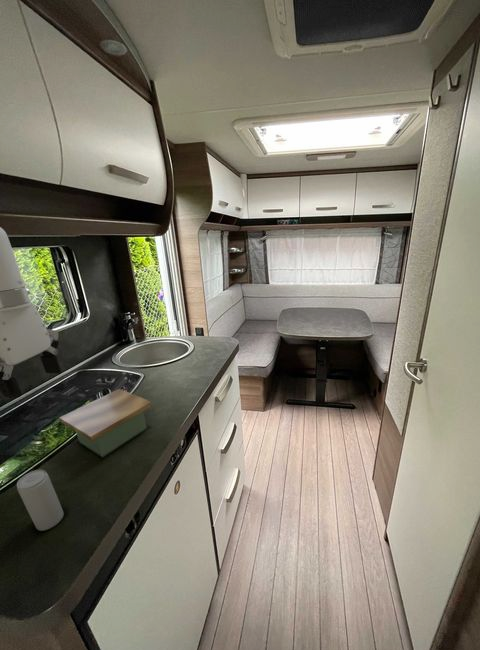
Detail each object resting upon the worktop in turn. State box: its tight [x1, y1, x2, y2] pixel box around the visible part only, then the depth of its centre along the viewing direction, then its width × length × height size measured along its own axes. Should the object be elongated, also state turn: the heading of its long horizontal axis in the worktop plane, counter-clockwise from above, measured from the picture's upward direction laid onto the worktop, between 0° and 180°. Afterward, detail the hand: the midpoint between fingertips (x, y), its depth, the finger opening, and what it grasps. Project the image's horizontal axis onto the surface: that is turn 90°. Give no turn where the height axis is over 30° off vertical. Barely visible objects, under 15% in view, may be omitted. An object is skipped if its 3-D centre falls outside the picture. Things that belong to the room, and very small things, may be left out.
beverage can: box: [16, 469, 65, 532], centre depth 56 cm, size 5×5×12 cm
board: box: [58, 388, 153, 441], centre depth 80 cm, size 16×18×2 cm
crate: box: [75, 411, 148, 458], centre depth 82 cm, size 12×14×8 cm
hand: (35, 383), depth 56 cm, fingers open, 9 cm apart
